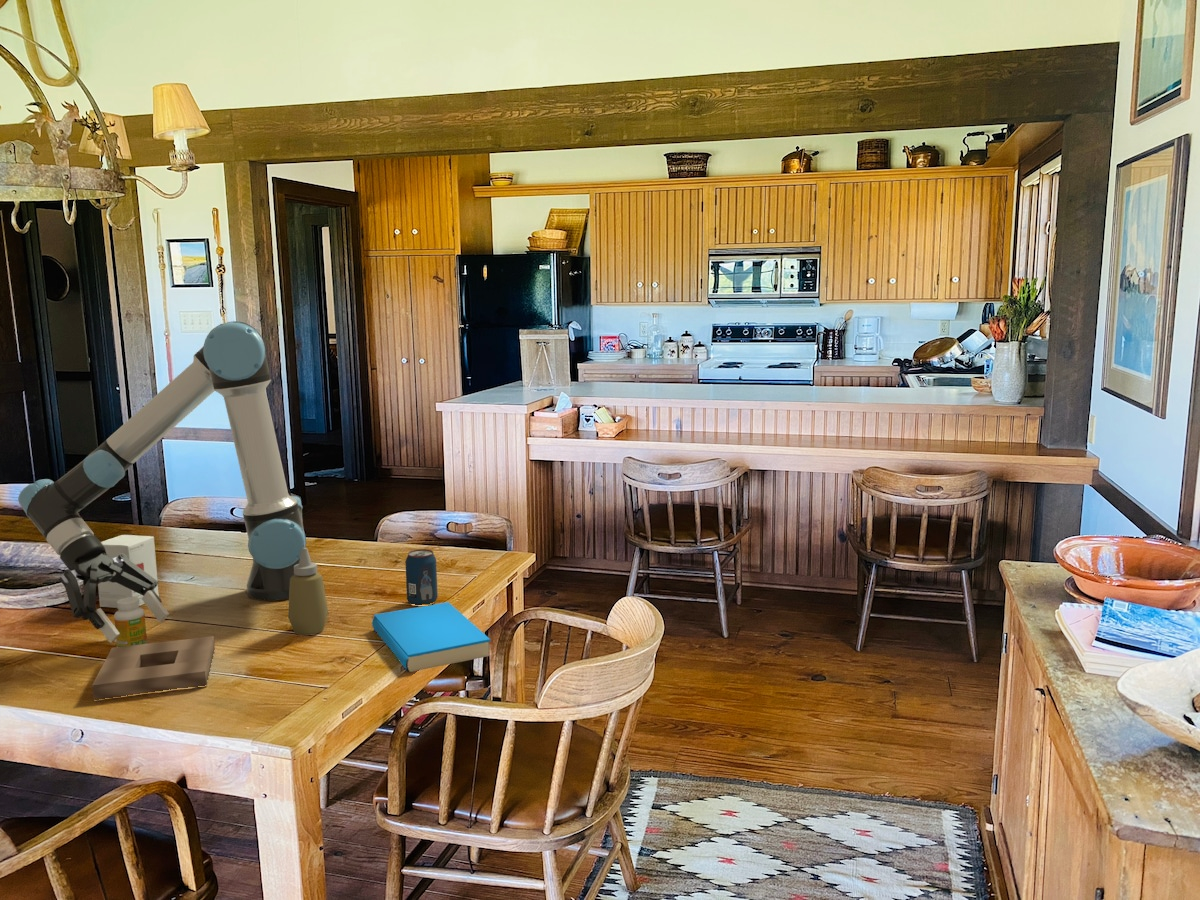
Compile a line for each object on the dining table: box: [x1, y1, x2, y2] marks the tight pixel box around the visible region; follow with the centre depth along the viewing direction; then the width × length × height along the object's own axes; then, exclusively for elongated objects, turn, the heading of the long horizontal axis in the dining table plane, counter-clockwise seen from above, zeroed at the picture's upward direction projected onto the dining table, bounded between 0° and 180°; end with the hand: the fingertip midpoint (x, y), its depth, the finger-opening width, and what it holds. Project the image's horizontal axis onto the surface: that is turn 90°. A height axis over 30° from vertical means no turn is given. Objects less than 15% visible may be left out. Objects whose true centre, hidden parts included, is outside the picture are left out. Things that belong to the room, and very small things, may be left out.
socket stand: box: [91, 635, 216, 701], centre depth 165 cm, size 18×18×3 cm
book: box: [371, 601, 491, 673], centre depth 180 cm, size 17×4×25 cm
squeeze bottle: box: [287, 547, 329, 636], centre depth 186 cm, size 8×8×18 cm
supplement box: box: [97, 534, 160, 609], centre depth 204 cm, size 9×9×15 cm
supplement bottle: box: [113, 597, 148, 647], centre depth 178 cm, size 5×5×10 cm
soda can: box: [405, 548, 439, 605], centre depth 203 cm, size 7×7×12 cm
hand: (140, 628), depth 177 cm, fingers open, 11 cm apart
